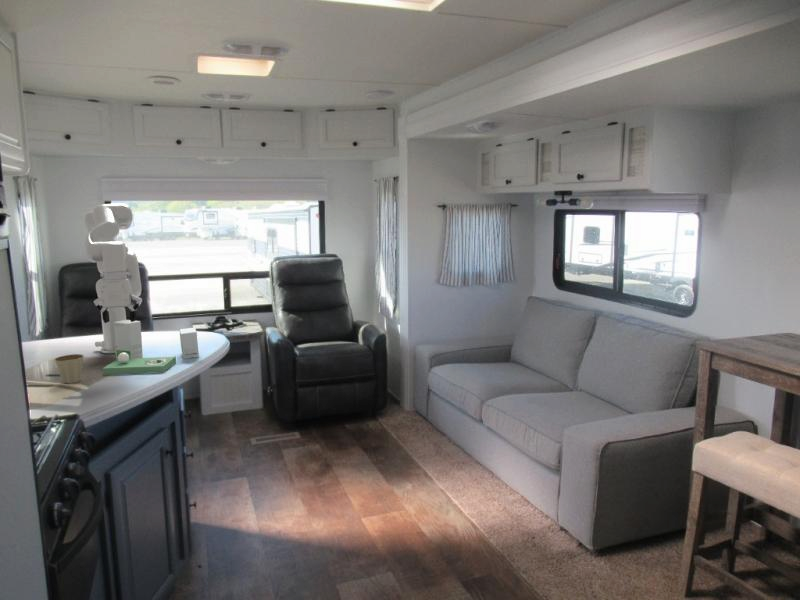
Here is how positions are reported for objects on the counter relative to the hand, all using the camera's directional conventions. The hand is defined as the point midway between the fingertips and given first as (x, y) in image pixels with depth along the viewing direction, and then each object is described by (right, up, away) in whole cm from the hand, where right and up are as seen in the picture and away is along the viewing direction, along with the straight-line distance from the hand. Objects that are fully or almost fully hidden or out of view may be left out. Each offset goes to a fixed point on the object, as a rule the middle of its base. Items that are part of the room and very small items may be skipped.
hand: (120, 321), depth 229 cm
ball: (0, -14, +2) cm, 14 cm away
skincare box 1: (-4, -16, +19) cm, 25 cm away
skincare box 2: (+19, -15, +22) cm, 33 cm away
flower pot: (-12, -21, -11) cm, 27 cm away
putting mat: (+6, -18, +3) cm, 19 cm away
